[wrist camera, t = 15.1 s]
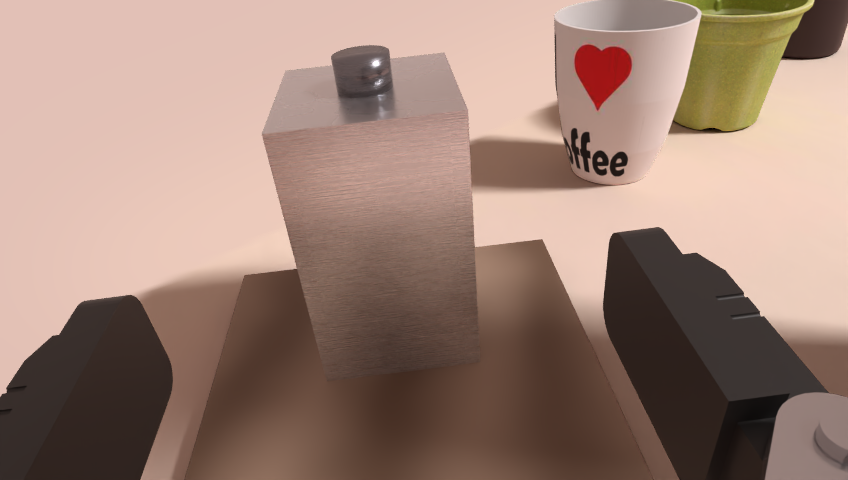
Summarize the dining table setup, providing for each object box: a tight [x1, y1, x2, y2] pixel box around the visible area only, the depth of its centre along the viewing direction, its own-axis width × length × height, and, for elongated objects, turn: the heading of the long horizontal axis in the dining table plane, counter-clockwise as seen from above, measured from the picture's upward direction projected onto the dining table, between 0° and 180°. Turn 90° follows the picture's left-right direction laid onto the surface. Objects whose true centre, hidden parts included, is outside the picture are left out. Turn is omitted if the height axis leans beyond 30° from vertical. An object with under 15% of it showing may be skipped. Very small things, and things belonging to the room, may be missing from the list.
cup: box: [554, 0, 702, 185], centre depth 36 cm, size 8×8×10 cm
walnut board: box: [185, 239, 653, 480], centre depth 22 cm, size 16×22×1 cm
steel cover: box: [262, 45, 480, 381], centre depth 23 cm, size 6×6×12 cm
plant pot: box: [672, 0, 814, 131], centre depth 42 cm, size 9×9×9 cm
